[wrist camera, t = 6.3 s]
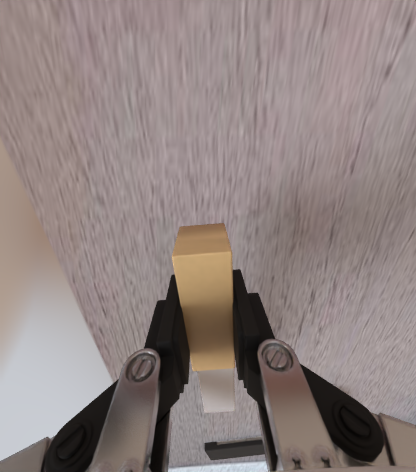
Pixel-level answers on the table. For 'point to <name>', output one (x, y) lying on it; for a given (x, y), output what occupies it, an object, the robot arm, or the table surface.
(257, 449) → the dark grey flat bar
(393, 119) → the table surface
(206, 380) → the knife
